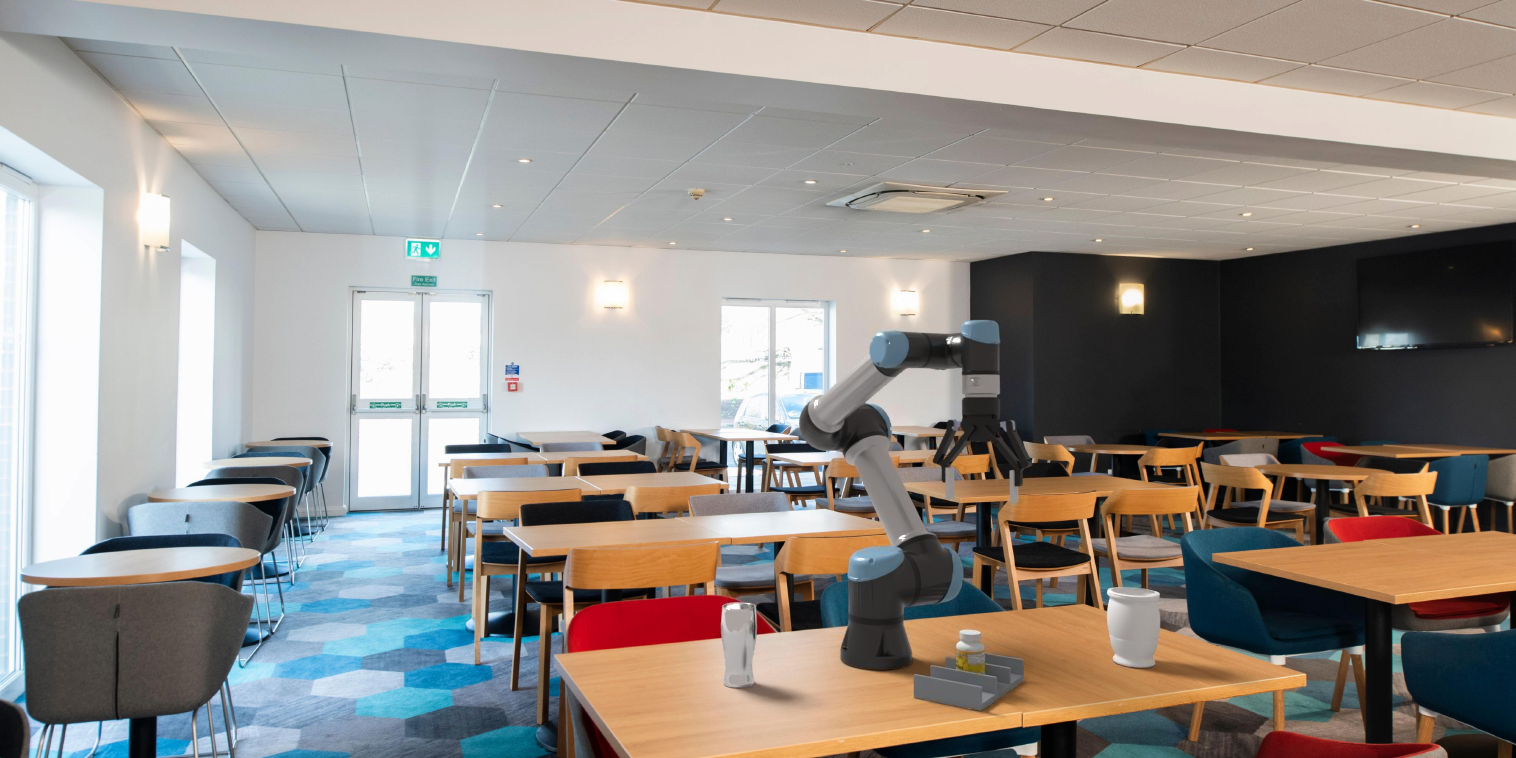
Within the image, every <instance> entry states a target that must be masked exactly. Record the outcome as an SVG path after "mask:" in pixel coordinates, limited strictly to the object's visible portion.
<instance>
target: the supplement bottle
mask: <svg viewBox="0 0 1516 758" xmlns="http://www.w3.org/2000/svg"><path fill="white" fill-rule="evenodd" d="M958 636H959V639H960V640H959V641H958V642H957V643H956V645H955V658H956V670H962V671H967V672H973V673H978V674H984V675H985V653H986V650H985V648H986V647H985V645H984V643H982V642H980V641H981V640H982V633H981V631H979V630H976V629H961V630H959V635H958Z"/></svg>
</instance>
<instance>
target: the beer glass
mask: <svg viewBox="0 0 1516 758" xmlns="http://www.w3.org/2000/svg"><path fill="white" fill-rule="evenodd" d="M721 607H722V608H721V622H720V634H721V643H722V651H723V654H724V660H725V661H724V663H725V671H724V675H723V681H722V682H723V685H724V686H725V687H728V688H732V689H733V688H734V689H745V688H750V687H752V686H755V677H754V672H753V671H754V670H753V659H754V654H755V648H756V643H757V635H758V634H757V632H758V631H757V630H758V621H757V620H758V619H757V608H756V607H757V605H756V604H754V603H751V602H742V601H741V602H738V601H737V602H736V601H735V602H727V603H725V604H723V605H722V606H721Z"/></svg>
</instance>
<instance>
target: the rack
mask: <svg viewBox="0 0 1516 758" xmlns="http://www.w3.org/2000/svg"><path fill="white" fill-rule="evenodd" d="M1024 663H1025V659H1024V658H1019V657H1011V656H1007V655H1000V654H994V653H987V652H985V675H984V674H978V673H973V672H967V671H962V670H956V657H950V656H946V657H945V667H943V666H939V665H934V664H933V665H932V664H931V665H930V666H929V670H930V671H929V672H930V673H929V674H930V676H927V675H923V674H916V673H914V674H913V698H914V699H918V700H923V701H928V702H932V703H938V704H943V705H947V706H952V707H957V708H962V707H963V709H967V708H970V709H969V710H971V709H975V710H974V711H976V710H980V711H979V712H982V711H984V710H985V709H987V708H988V707H989V706H991V705H992V704H994V703H995V702H996V701H997V700H999V699H1001V698H1002V697H1003V696H1005V695H1006V694H1007V693H1009V692H1010V691H1012V690H1013V689H1015V688H1017V686H1019V685H1020V684H1021V683H1023V682H1025V664H1024ZM1000 697H1001V698H1000ZM990 704H991V705H990ZM984 708H985V709H984ZM983 709H984V710H983ZM981 710H982V711H981Z"/></svg>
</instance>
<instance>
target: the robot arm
mask: <svg viewBox="0 0 1516 758" xmlns="http://www.w3.org/2000/svg"><path fill="white" fill-rule="evenodd" d="M1000 344H1001V338H1000V327H999V324H998V322H996V321H995V320H989V319H973V320H966V321H964V322H962V324H961V330H960V332H953V333H951V332H950V333H941V332H939V333H938V332H937V333H935V332H917V331H914V332H913V331H900V330H888V331H887V330H886V331H879V332H877V333H876V334H874V336H873V337H872V341H871V342H870V343H869V348H868V349H869V352H868V354H867V355H866V356H865V357H864V358H862V359H861V360H860V361H859V362H858V363H857V364H856V365H855V366H854V367H852V368H851V369H850V370H849V371H848V372H847V373H846V374H845V375H844V376H843V377H841V378H840V379H839V380H838V381H837V382H835V383H834V384H833V386H831V387H830V388H829V389H828V390H826V391H825V392H824V393H823V394H818V395H816V396H813V398H812V399H810V400H809V402H807V403H806V405H805V406H804V407H803V408H802V410H801V412H800V416H799V420H798V426H799V427H798V428H799V431H800V434H801V436H802V438H803V439H804V441H805V442H806V443H807V444H809V445H810V447H812V448H815V449H816V450H820V451H823V452H825V451H826V452H834V451H835V452H841V453H842V455H843V458H844V459H845V462H846V463H847V464H849V465H850V466H853V467H854V466H855V469H856V470H857V473H858V476H859V477H860V479H861V481H862V485H864V488H865V490H866V493H867V495H868V497H869V500H870V501H871V504H872V506H873V508H874V510H875V512H876V515H877V517H878V519H879V521H880V524H881V525H882V528H883V530H884V532H885V534H886V537H887V539H888V541H889V543H890V545H881V546H876V545H875V546H870V547H865V548H862V549H859V550H857V551H854V552H853V553H852V554H851V555H850V557H849V560H848V569H847V578H848V624H847V627H846V630H845V633H844V636H843V639H842V642H841V646H840V652H839V653H840V657H839V658H840V661H841V662H842V663H844V664H845V665H847V666H851V667H855V668H859V669H866V670H882V671H883V670H896V669H901V668H906V667H908V666H910V665H911V664H912V662H913V650H912V646H911V643H910V639H909V637H908V634H907V632H906V628H905V624H904V619H905V618H904V611H905V610H904V609H905V608H910V607H916V606H918V607H919V606H925V605H940V604H941V603H946V602H949V601H951V600H954V599H955V598H956V597H957V596H958V595H959V593H960V591H961V589H962V585H963V580H964V567H963V563H962V559H961V558H960V555H959V554H958V552H957V551H955V549H951V548H950V547H947V546H946V547H943V545H942V544H941V542H940V540H939V538H938V536H937V534H935V533H933V532H929V531H927V529H926V528H925V527H926V526H925V525H924V523H923V520H921V519H922V518H921V517H920V515H919V512H918V510H917V508H916V506H915V505H914V502H913V501H912V499H911V497H910V494H909V493H908V490H907V488H906V486H905V484H904V481H903V480H902V478H901V476H900V474H899V472H898V470H897V468H896V466H895V464H894V462H893V460H892V458H891V456H890V454H889V448H890V446H891V440H892V435H893V430H892V429H891V428H892V422H891V419H890V417H889V415H888V413H887V412H886V411H885V409H884V408H882V406H879V405H877V404H874V403H868V402H867V401H869V400H870V399H871V398H872V397H874V396H875V395H876V394H877V393H878V392H880V391H881V390H882V389H883V388H885V386H887V385H888V384H889V383H890V382H891V381H893V380H894V379H895V378H897V377H898V376H899V375H900V374H902V373H903V372H904V371H905V370H907V369H929V370H930V369H931V370H936V371H940V370H942V371H945V370H951V369H953V370H954V369H961V394H962V395H964V397H962V399H961V416H962V418H961V420H957V419H948V420H947V421H946V430H945V433H944V434H943V436H942V439H941V441H940V443H939V445H938V447H937V449H936V452H935V454H934V456H933V458H932V463H933V464H934V465H935V464H936V465H938V466H940V469H941V482H942V483H945V500H952V499H953V500H954V499H955V467H954V466H952V464H953V463H954V462H955V460H956V459H957V458H958V456H959V455H960V454H961V453H962V452H963V450H964V449H965V448H966V447H967V446H968V444H971V443H970V442H972V443H978V442H981V443H991V444H993V445H994V446H995V447H996V448H997V450H998V452H999V453H1001V455H1002V456H1003V457H1004V458H1005V460H1006V461H1007V462H1008V463H1009V464H1010V466H1011V467H1012V469H1011V470H1009V504H1012V505H1013V504H1017V503H1019V487H1022V486H1023V484H1024V482H1023V481H1024V480H1023V479H1024V475H1023V474H1024V469H1027V468H1029V467H1032V466H1033V462H1032V460H1031V459H1032V458H1031V457H1030V455H1029V454H1028V452H1027V449H1026V447H1025V445H1024V443H1023V442H1022V441H1023V440H1022V439H1021V437H1020V435H1019V432H1018V430H1017V423H1016V421H1015V420H1011V419H1008V420H1006V421H1001V418H1000V417H1001V399H1000V398H999V397H998V396H999V395H1000V394H1001V387H1000V386H1001V383H1000V379H1001V378H1000V377H1001V376H1000V373H1001V372H1000V359H1001V358H1000V354H1001V353H1000V351H1001V350H1000V348H1001V345H1000ZM960 428H961V430H962V431H963V434H961V436H960V437H959V439H958V441H957V442H956V443H955V445H954V446H953V447H952V448H951V450H949V448H950V446H951V444H952V442H953V440H954V437H956V433H957V431H959V429H960ZM1002 428H1003V431H1004V432H1006V433H1007V437H1008V438H1009V440H1010V443H1011V444H1012V445H1011V446H1012V447H1013V449H1014V451H1015V453H1016V455H1017V456H1016V455H1015V454H1014V452H1013V451H1012V449H1011V448H1010V447H1009V446H1008V445H1007V444H1006V442H1005V441H1004V439H1003V437H1002V436H1001V435H1000V434H999V432H1000V431H1001V429H1002ZM948 451H949V452H948ZM947 452H948V453H947Z"/></svg>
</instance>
